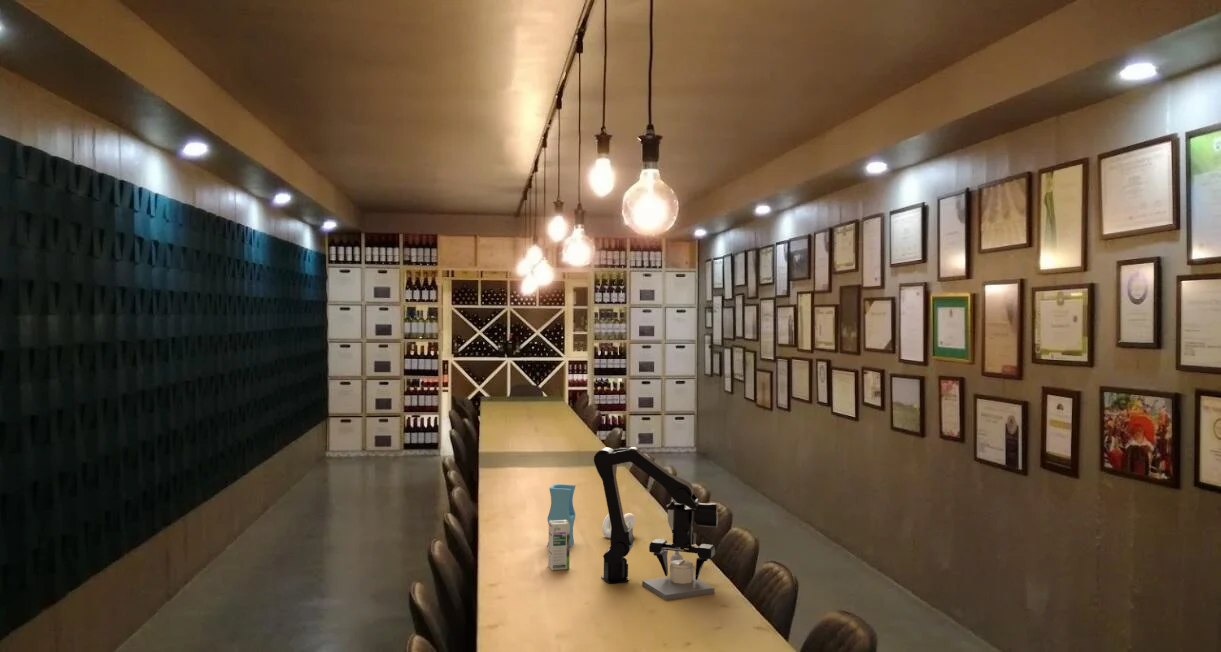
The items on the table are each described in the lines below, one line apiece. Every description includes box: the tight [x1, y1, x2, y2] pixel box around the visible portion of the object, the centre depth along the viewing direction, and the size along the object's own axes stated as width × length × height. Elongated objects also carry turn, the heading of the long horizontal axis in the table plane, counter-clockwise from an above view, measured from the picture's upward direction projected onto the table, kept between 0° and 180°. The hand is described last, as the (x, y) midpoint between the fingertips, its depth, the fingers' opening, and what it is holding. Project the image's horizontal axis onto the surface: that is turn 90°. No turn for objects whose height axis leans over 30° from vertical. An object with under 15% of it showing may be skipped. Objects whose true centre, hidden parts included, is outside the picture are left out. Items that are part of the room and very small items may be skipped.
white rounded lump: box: [601, 512, 637, 540], centre depth 299 cm, size 11×12×9 cm
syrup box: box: [547, 520, 571, 571], centre depth 262 cm, size 6×6×14 cm
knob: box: [669, 559, 695, 584], centre depth 246 cm, size 7×7×5 cm
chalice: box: [666, 503, 688, 563], centre depth 271 cm, size 7×7×18 cm
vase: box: [547, 483, 576, 548], centre depth 289 cm, size 8×8×20 cm
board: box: [641, 576, 715, 601], centre depth 242 cm, size 16×14×5 cm
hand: (681, 577), depth 246 cm, fingers open, 9 cm apart
